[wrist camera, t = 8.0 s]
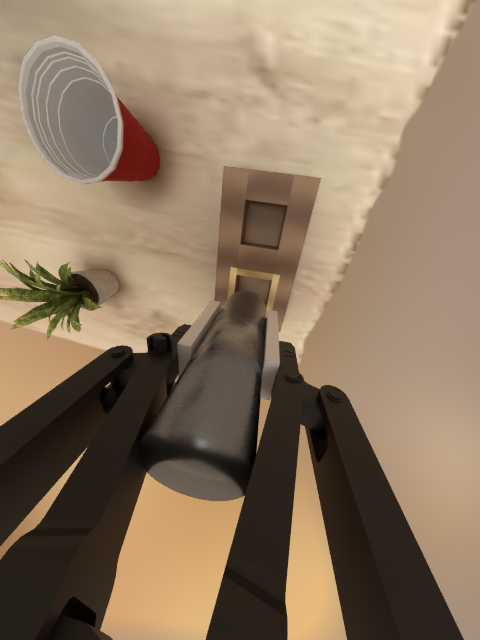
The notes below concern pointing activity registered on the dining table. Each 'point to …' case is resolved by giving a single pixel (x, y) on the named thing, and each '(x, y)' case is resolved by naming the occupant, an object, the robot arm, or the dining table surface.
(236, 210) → the hole block
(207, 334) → the pin
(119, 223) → the dining table surface
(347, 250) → the dining table surface
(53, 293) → the house plant
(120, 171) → the plastic cup
